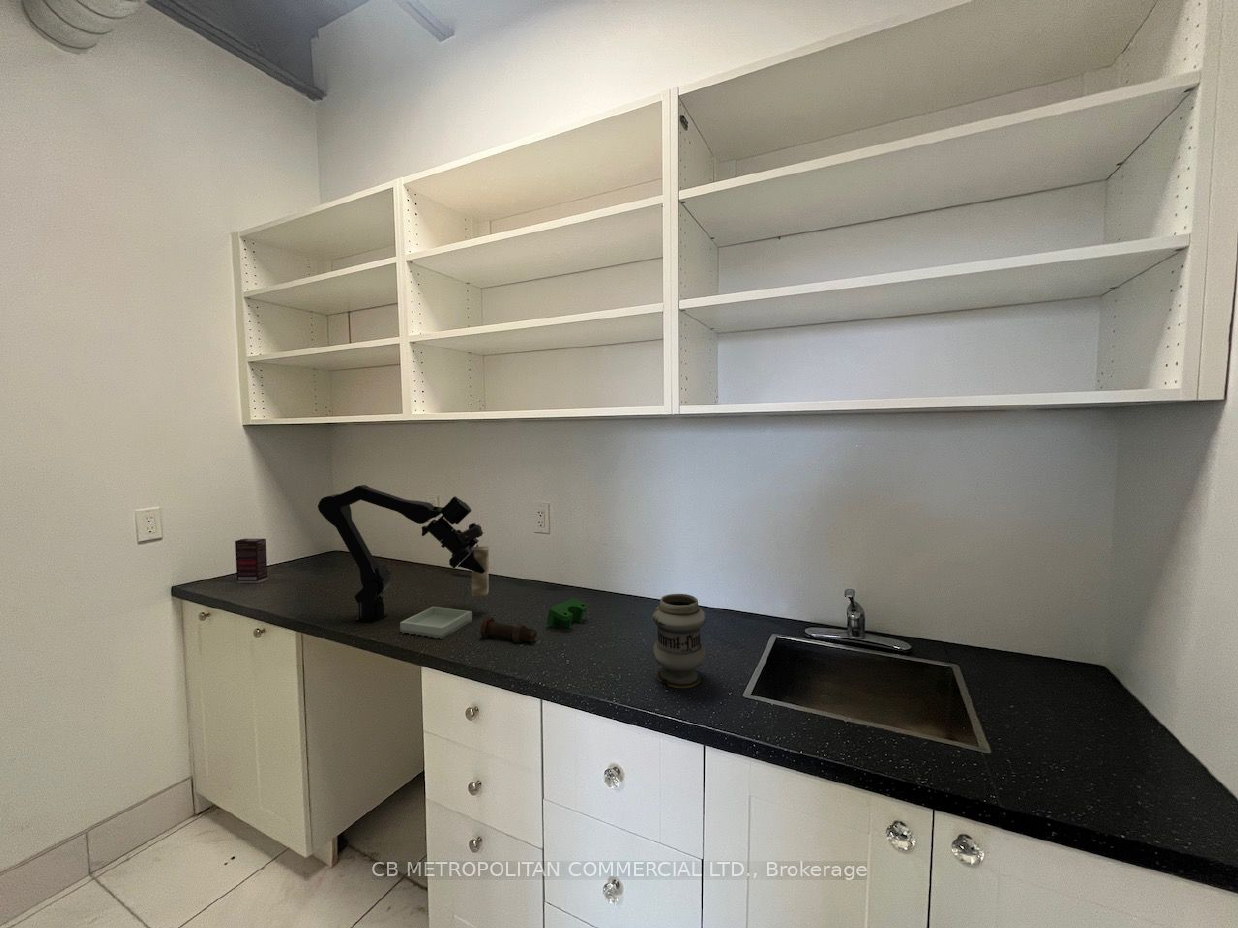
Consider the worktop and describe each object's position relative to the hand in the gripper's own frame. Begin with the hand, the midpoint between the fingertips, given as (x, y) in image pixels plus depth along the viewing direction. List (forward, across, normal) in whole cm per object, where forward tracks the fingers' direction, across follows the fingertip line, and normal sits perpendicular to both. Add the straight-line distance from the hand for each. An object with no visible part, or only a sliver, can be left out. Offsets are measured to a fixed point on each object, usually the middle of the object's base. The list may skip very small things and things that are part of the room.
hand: (484, 570), depth 149 cm
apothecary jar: (+44, -47, -25) cm, 69 cm away
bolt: (+16, -20, +3) cm, 26 cm away
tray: (+1, -9, +18) cm, 20 cm away
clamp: (+27, -11, -8) cm, 31 cm away
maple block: (+4, 0, +6) cm, 7 cm away
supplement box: (-54, +46, +74) cm, 103 cm away
